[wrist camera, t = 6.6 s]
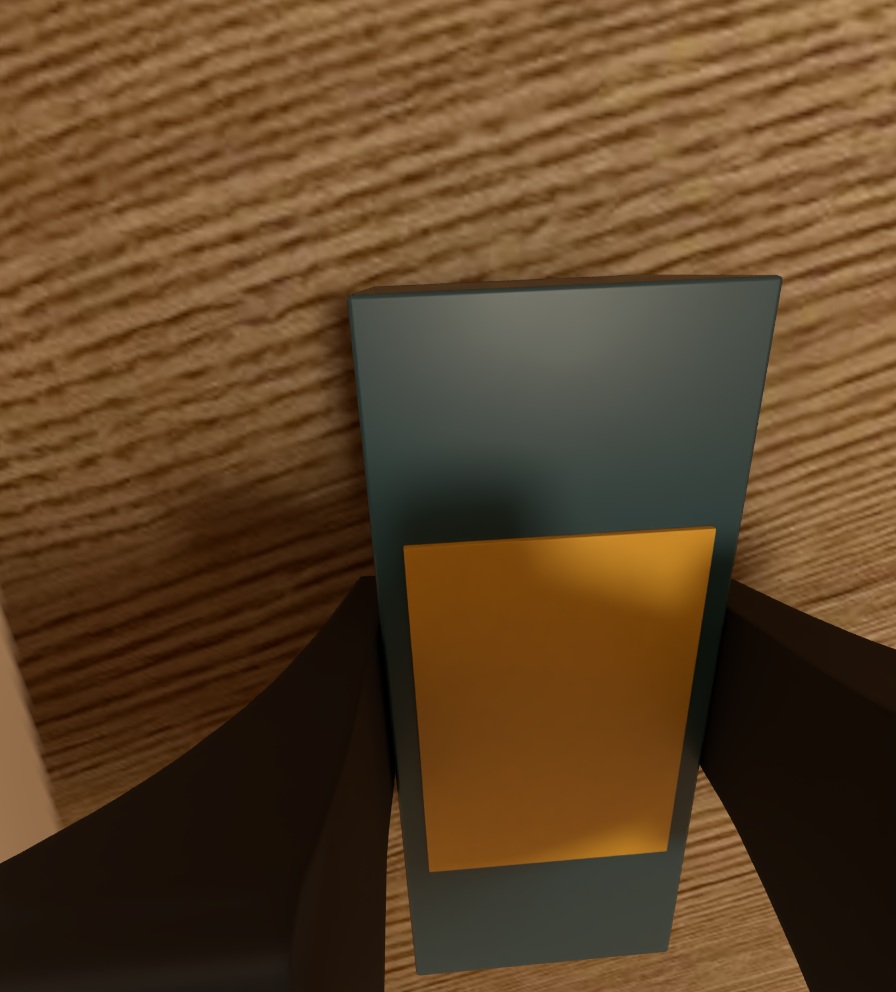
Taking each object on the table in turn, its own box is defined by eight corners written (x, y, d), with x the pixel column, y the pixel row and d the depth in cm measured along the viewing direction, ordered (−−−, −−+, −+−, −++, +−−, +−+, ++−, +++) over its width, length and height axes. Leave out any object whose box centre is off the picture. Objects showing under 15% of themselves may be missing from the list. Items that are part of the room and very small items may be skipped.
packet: (601, 776, 14) (671, 959, 10) (414, 791, 14) (416, 984, 10) (644, 274, 10) (792, 275, 6) (371, 286, 10) (345, 295, 6)
